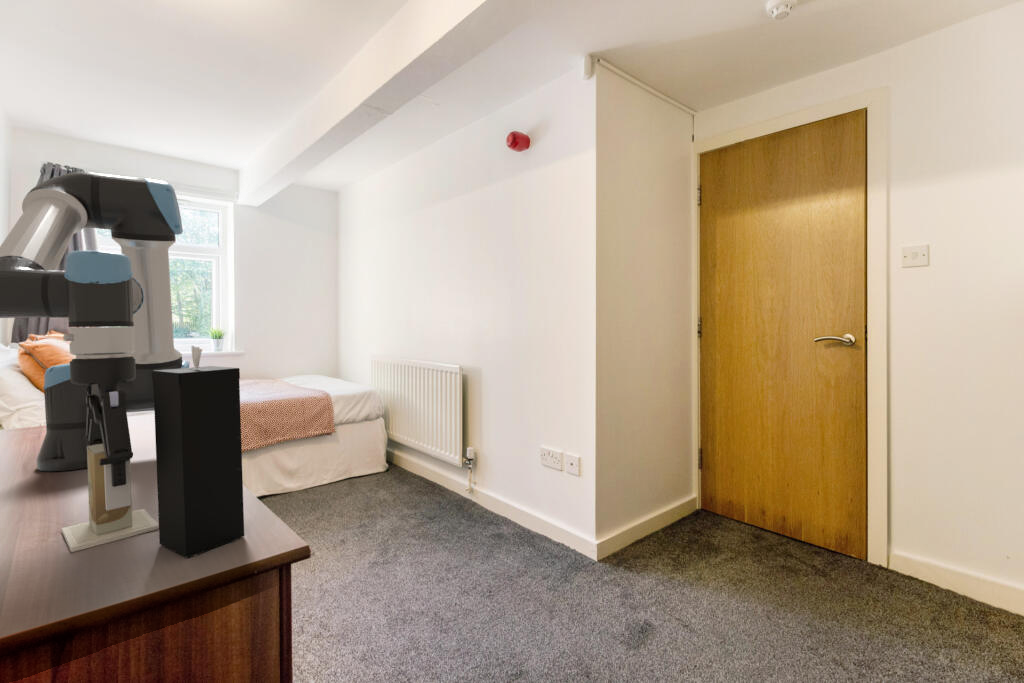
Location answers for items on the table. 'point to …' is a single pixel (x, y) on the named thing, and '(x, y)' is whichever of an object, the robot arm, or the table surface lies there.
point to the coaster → (86, 537)
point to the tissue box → (198, 456)
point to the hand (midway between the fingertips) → (109, 496)
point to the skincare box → (103, 497)
